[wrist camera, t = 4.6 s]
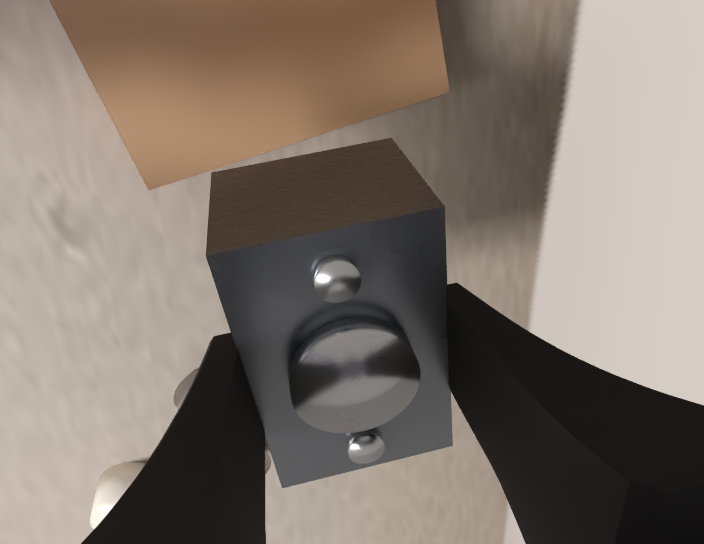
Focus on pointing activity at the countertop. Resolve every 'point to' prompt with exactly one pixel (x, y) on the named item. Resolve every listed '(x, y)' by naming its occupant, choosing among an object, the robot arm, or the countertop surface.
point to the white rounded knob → (113, 489)
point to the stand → (249, 72)
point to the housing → (336, 305)
